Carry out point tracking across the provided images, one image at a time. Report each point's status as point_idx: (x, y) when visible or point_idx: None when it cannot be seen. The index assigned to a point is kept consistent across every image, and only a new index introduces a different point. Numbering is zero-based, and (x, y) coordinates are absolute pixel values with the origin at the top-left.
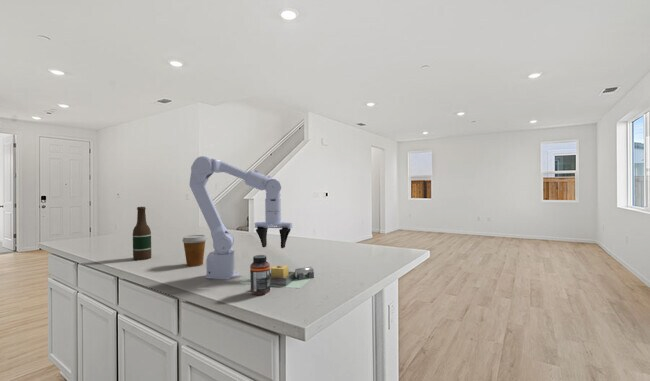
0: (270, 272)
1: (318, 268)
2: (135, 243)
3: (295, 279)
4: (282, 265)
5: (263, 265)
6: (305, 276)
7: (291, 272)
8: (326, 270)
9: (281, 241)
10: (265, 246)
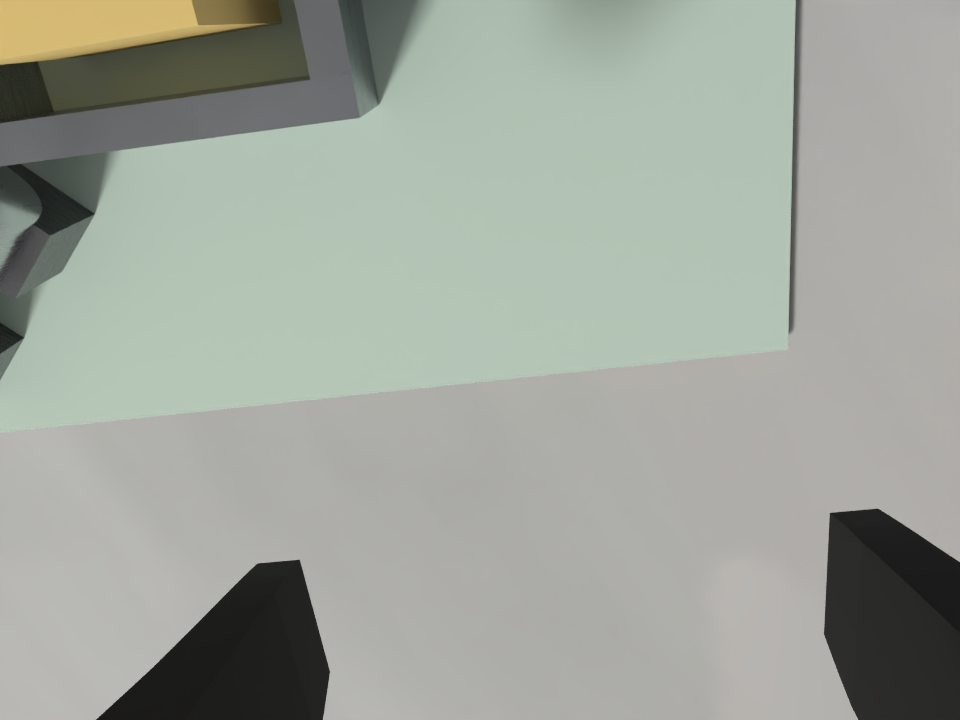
0: (594, 326)
1: None
2: None
3: None
4: (53, 42)
5: None
6: (4, 323)
7: (7, 124)
8: (7, 666)
9: (187, 679)
10: (829, 599)
